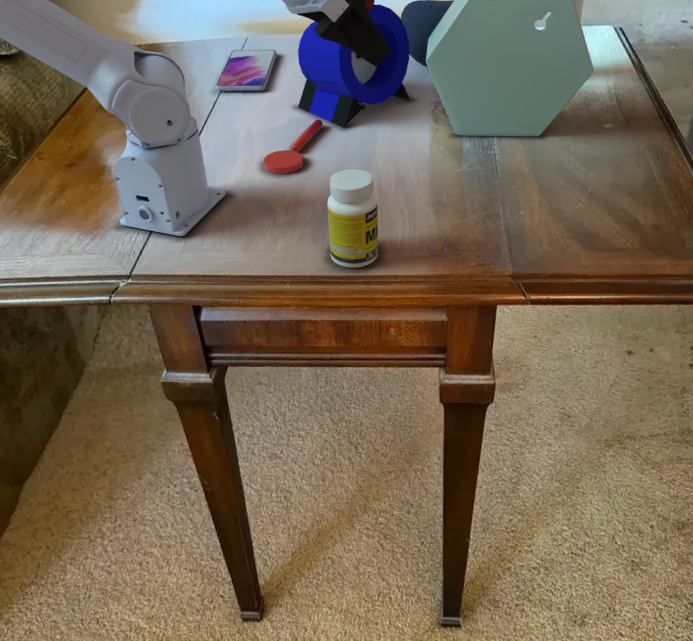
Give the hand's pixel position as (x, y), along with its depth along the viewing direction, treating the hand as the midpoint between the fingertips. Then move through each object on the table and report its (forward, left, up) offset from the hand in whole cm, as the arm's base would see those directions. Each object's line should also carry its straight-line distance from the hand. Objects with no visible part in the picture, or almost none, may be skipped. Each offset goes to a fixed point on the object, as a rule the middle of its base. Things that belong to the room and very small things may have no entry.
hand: (370, 47), depth 78 cm
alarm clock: (+19, +10, -15) cm, 26 cm away
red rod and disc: (+4, +11, -15) cm, 19 cm away
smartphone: (+25, +29, -15) cm, 41 cm away
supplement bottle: (-16, -4, -15) cm, 22 cm away
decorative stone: (+35, +2, -15) cm, 38 cm away
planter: (+18, -11, -15) cm, 26 cm away
